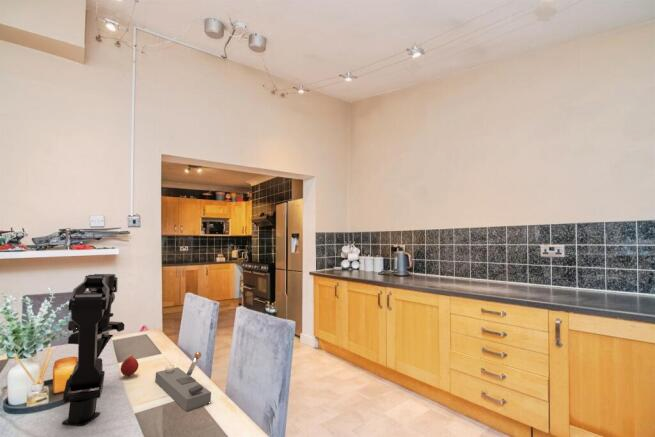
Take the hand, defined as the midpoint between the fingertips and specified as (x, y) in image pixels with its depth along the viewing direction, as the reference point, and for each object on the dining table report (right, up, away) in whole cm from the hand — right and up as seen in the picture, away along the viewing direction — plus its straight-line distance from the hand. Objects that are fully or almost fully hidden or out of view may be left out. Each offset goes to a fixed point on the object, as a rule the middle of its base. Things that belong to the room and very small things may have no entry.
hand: (95, 358), depth 110 cm
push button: (+19, -11, +13) cm, 25 cm away
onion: (+2, -14, +15) cm, 20 cm away
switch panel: (+27, -14, +5) cm, 30 cm away
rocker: (+35, -10, -3) cm, 37 cm away
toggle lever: (+28, -9, +7) cm, 31 cm away
